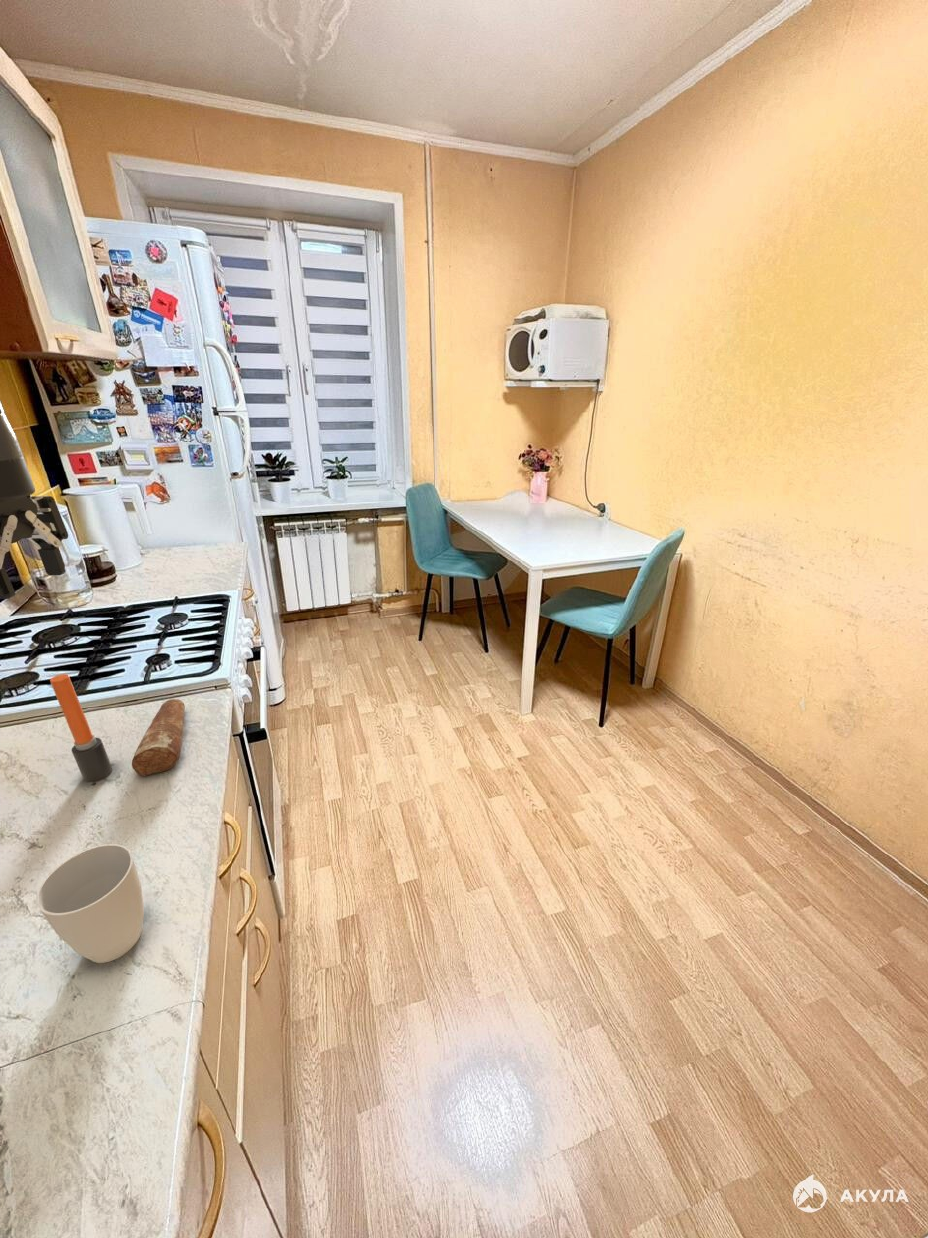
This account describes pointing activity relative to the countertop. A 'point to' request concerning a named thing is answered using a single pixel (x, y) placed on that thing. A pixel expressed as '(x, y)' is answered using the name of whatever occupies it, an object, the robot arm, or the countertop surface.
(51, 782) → the countertop surface
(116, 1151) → the countertop surface
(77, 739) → the brush
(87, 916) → the cup
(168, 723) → the bread
